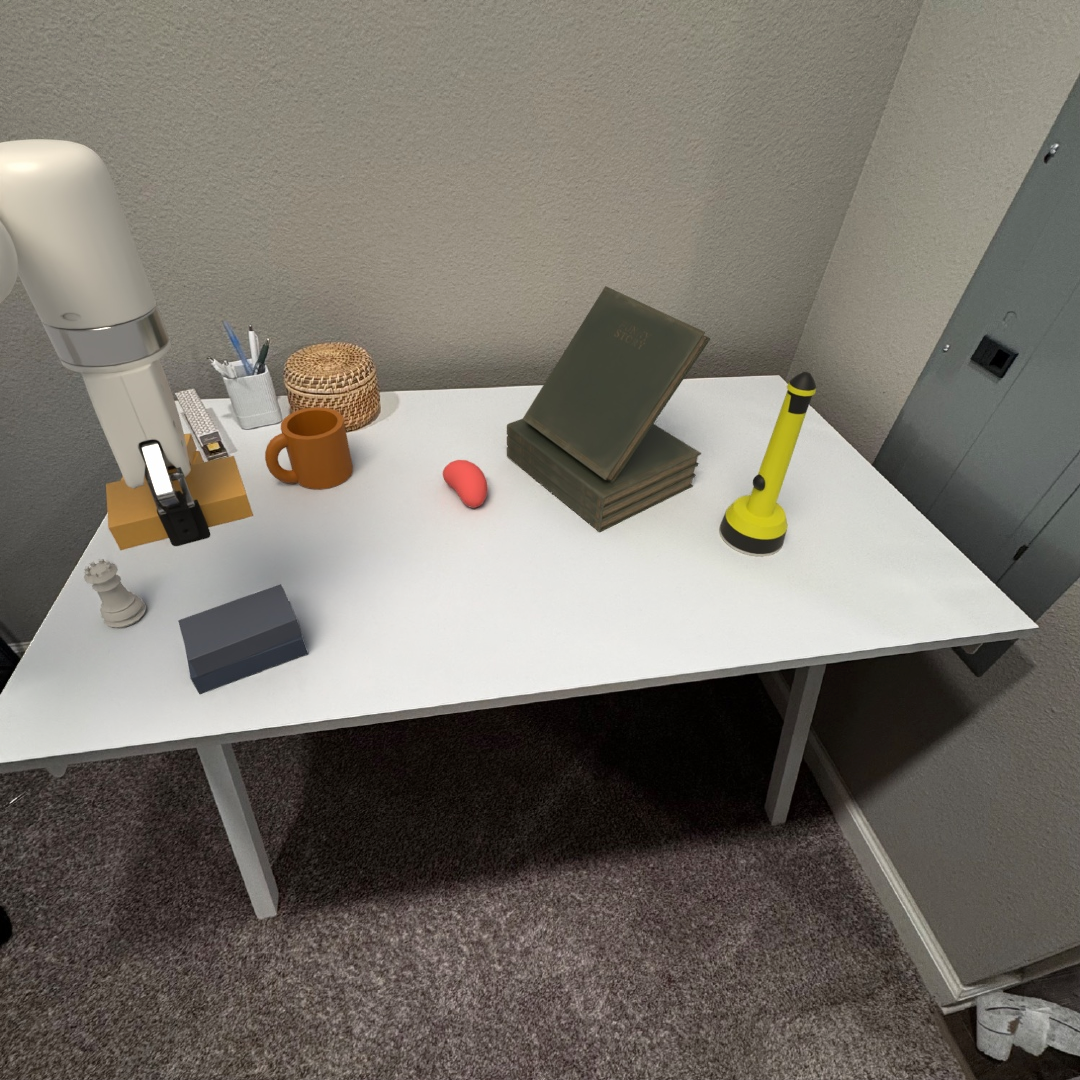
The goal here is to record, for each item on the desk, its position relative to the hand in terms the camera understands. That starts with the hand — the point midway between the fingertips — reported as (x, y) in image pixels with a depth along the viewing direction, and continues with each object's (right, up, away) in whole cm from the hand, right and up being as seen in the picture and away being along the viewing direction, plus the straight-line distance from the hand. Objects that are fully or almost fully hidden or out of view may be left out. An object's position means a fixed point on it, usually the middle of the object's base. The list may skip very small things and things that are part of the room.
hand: (186, 515), depth 59 cm
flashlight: (+63, -2, +30) cm, 70 cm away
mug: (-2, +7, +37) cm, 38 cm away
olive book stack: (+43, +8, +41) cm, 59 cm away
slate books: (+1, -15, +11) cm, 19 cm away
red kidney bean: (+22, +4, +35) cm, 42 cm away
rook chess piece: (-16, -12, +15) cm, 24 cm away
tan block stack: (-19, +3, +31) cm, 36 cm away
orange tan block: (0, 0, 0) cm, 0 cm away
